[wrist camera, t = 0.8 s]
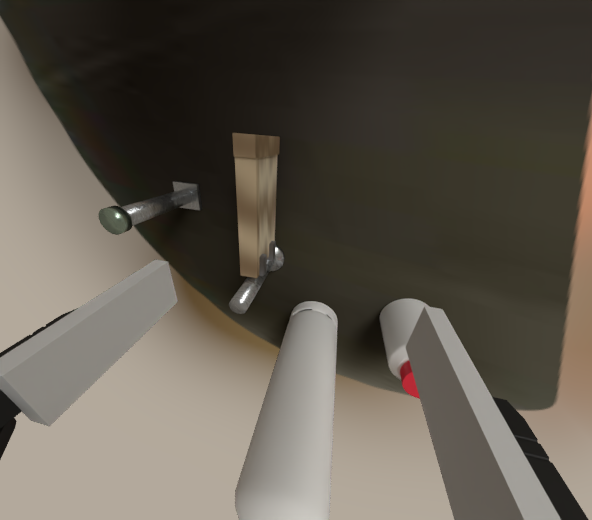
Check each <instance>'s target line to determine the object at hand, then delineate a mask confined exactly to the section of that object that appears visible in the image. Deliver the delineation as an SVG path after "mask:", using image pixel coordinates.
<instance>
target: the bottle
mask: <svg viewBox="0 0 592 520" xmlns="http://www.w3.org/2000/svg"><path fill="white" fill-rule="evenodd" d="M305 309H312V310H305ZM302 310H305V311H302ZM299 311H301V312H299ZM327 315H328V316H329V317H330V318H331V319H332V320H331V319H330V318H329V317H328V316H327ZM337 326H338V321H337V316H336V314H335V313H334V311H333V310H332V309H331V308H330V307H328V306H327V305H325V304H323V303H320V302H315V301H306V302H303V303H300V304H298V305H297V306H296V307H295V308H294V309H293V311H292V313H291V316H290V320H289V323H288V325H287V329H286V332H285V335H284V338H283V341H282V344H281V348H280V351H279V354H278V357H277V360H276V364H275V367H274V370H273V373H272V376H271V379H270V383H269V386H268V389H267V392H266V395H265V398H264V402H263V405H262V408H261V411H260V414H259V417H258V421H257V424H256V427H255V430H254V433H253V436H252V440H251V443H250V446H249V449H248V452H247V456H246V459H245V462H244V465H243V469H242V471H241V475H240V478H239V481H238V484H237V488H236V490H235V507H236V511H237V515H238V518H239V520H329V515H330V514H329V513H330V491H331V468H332V445H333V421H334V397H335V373H336V350H337Z"/></svg>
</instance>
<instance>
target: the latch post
mask: <svg viewBox="0 0 592 520" xmlns="http://www.w3.org/2000/svg"><path fill="white" fill-rule="evenodd" d="M173 186H174V192H172V193H168V194H165V195H161V196H158V197H154V198H151V199H148V200H144V201H141V202H137V203H134V204H130V205H127V206H123V207H119V206H111V207H108V208H104V209H101V210H100V212H99V220H100V222H101V224H102V225H103V227H104V228H105V229H106V230H108V231H109V232H111V233H112V234H116V235H117V234H121V233H123V232H126V231H128V230H130V229H131V228H132V226H133V225H135V224H138V223H140V222H143V221H145V220H148V219H151V218H153V217H156V216H158V215H161V214H163V213H166V212H168V211H171V210H174V209H176V208H179V207H180V208H187V209H194V210H202V204H201V196H200V188H199V184H196V183H188V182H180V181H173Z"/></svg>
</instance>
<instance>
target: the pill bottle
mask: <svg viewBox="0 0 592 520" xmlns="http://www.w3.org/2000/svg"><path fill="white" fill-rule="evenodd" d="M424 306H426V307H429V306H428V305H427V304H426V303H424V302H422V301H420V300H416V299H410V298H408V299H399V300H396V301H393V302H391V303H389V304H388V305H386V306H385V307H384V308H383V310H382V311H381V313H380V325H381V330H382V336H383V341H384V346H385V351H386V356H387V361H388V366H389V369H390V371H391V372H392V374H393V375H394V376H395V377H397V378H398V379H400V380H401V381H402V385H403V388H404V389H405V391H406V392H407V393H408V394H410V395H412V396H414V397H417V398H419V399H420V397H419V393H418V390H417V386H416V383H415V379H414V376H413V372H412V369H411V365H410V361H409V358H408V354H407V351H406V345H407V343H408V341H409V338H410V336H411V334H412V332H413V330H414V327H415V325H416V323H417V321H418V319H419V317H420V314H421V312H422V310H423V308H424Z"/></svg>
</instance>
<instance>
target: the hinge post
mask: <svg viewBox="0 0 592 520" xmlns="http://www.w3.org/2000/svg"><path fill="white" fill-rule="evenodd" d="M284 259H285V257H284V253H283V251H282V250H281V249H280V248H279V247H278V246H277V245H276V248H275V258H274V260H273V261H270V260H269V257H268V259H267V266H266V273H265V274H264V276H258V278H253V277H247V279H246V280H245V282H244V283H243V284H242V286H241V287H240V288H239V290H238V291H237V293H236V294H235V295H234V297H233V298H232V300H231V301H230V303H229V306H230V308H231V310H232V311H233V312H235V313H237V314H243V313H245V312H246V311H247V309H248V307H249V306H250V304H251V302H252V300H253V299H254V297H255V295H256V294H257V292H258V290H259V289H260V287H261V285H262V283H263V282H264V280H265V278H266V277H267V275H268V273H269V271H275V270H278V269H279V268H281V266H282V265H283V263H284Z"/></svg>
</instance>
